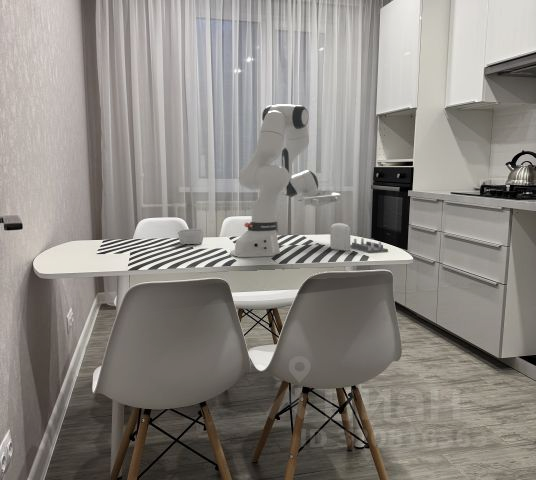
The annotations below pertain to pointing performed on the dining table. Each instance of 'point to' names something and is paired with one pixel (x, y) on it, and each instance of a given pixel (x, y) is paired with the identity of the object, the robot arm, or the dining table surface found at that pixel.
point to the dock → (368, 246)
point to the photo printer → (340, 237)
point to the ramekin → (191, 236)
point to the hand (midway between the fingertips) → (328, 201)
